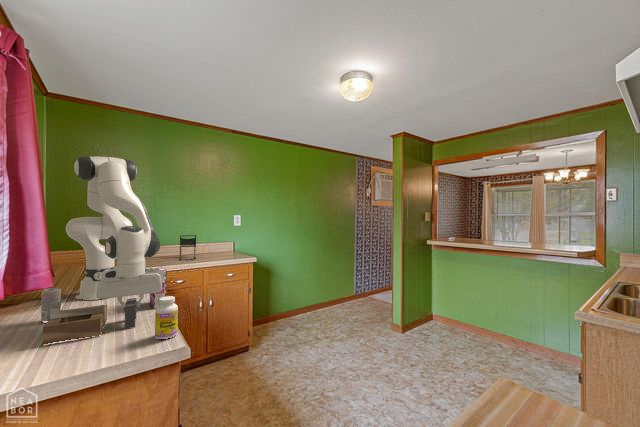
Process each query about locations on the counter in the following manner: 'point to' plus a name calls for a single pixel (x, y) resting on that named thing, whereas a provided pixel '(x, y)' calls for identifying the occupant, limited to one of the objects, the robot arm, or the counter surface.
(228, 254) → the counter surface
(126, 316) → the gray block
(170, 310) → the supplement bottle
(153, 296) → the candy bar box
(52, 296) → the energy drink
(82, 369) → the counter surface
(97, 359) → the counter surface
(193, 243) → the chair
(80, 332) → the shelf
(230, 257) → the counter surface
